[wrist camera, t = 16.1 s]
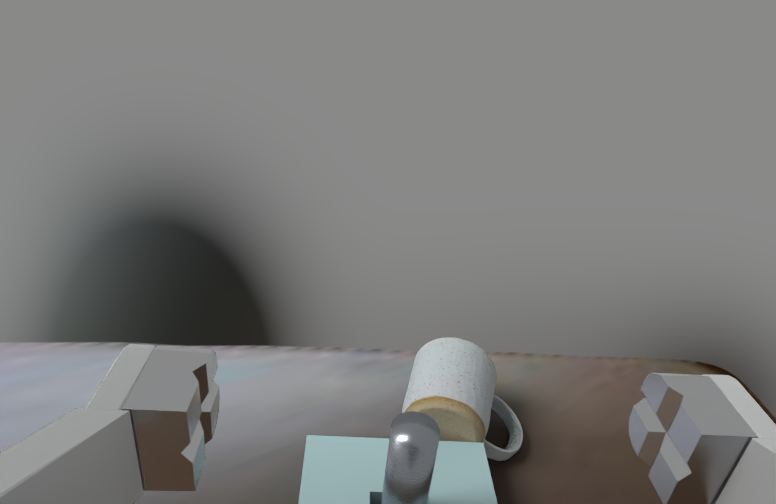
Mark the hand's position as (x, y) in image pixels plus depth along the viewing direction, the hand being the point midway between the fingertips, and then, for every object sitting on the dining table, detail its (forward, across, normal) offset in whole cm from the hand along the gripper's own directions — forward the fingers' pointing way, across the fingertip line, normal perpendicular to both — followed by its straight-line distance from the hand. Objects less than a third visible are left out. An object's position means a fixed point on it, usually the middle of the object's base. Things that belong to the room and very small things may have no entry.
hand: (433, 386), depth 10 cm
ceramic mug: (+28, -9, +30) cm, 42 cm away
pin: (+16, -3, +30) cm, 34 cm away
